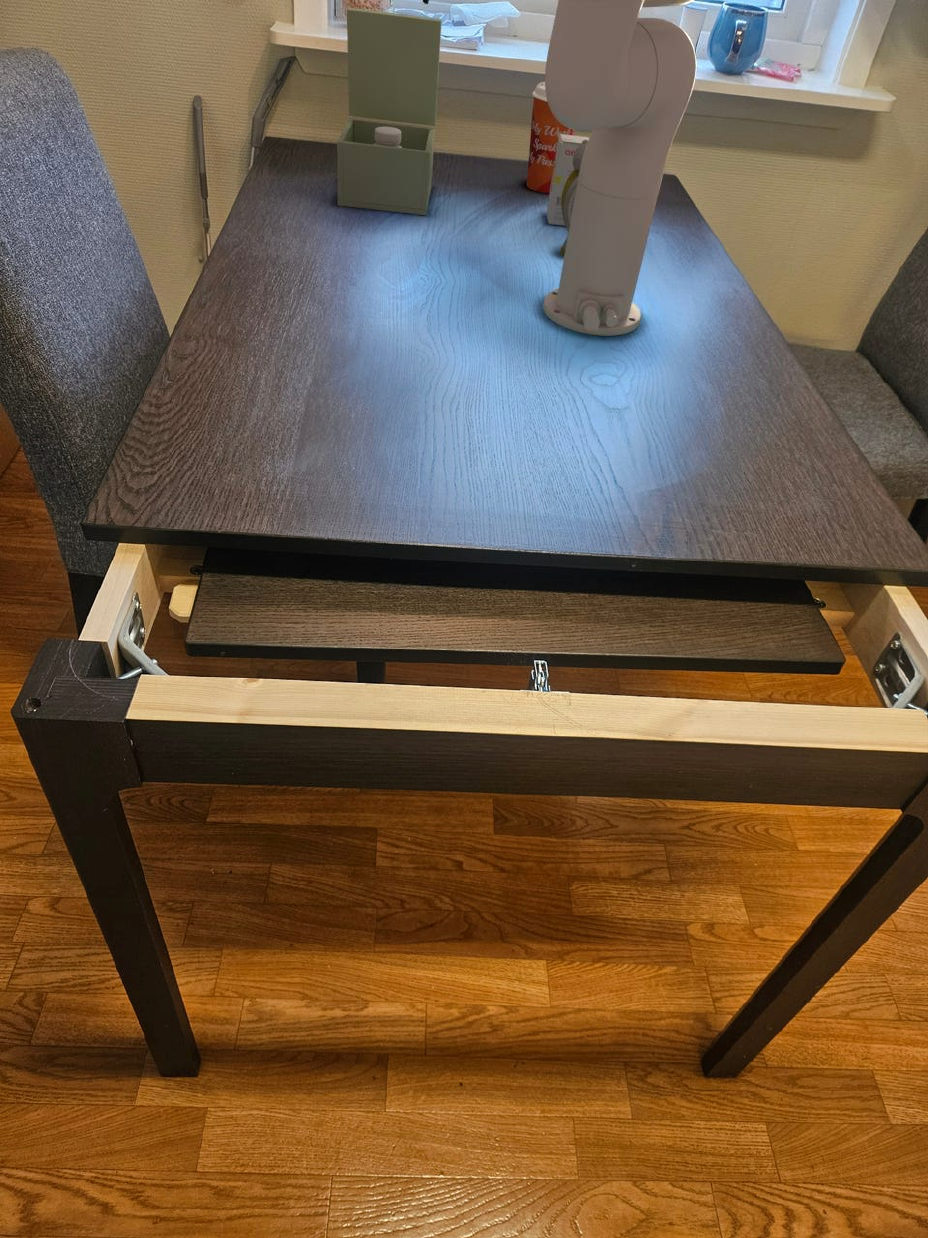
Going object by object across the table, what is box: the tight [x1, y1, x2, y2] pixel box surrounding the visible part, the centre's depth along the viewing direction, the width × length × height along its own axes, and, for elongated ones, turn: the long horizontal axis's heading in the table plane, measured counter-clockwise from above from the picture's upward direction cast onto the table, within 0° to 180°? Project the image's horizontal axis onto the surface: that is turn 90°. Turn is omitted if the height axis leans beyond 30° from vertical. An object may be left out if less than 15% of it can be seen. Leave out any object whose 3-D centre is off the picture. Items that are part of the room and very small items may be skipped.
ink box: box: [546, 134, 590, 227], centre depth 130 cm, size 9×5×12 cm, turn 89°
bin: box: [336, 117, 436, 216], centre depth 131 cm, size 14×14×9 cm
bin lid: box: [346, 7, 443, 127], centre depth 129 cm, size 14×14×6 cm
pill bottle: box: [373, 127, 402, 148], centre depth 130 cm, size 5×5×9 cm
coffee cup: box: [526, 81, 575, 194], centre depth 141 cm, size 8×8×15 cm
